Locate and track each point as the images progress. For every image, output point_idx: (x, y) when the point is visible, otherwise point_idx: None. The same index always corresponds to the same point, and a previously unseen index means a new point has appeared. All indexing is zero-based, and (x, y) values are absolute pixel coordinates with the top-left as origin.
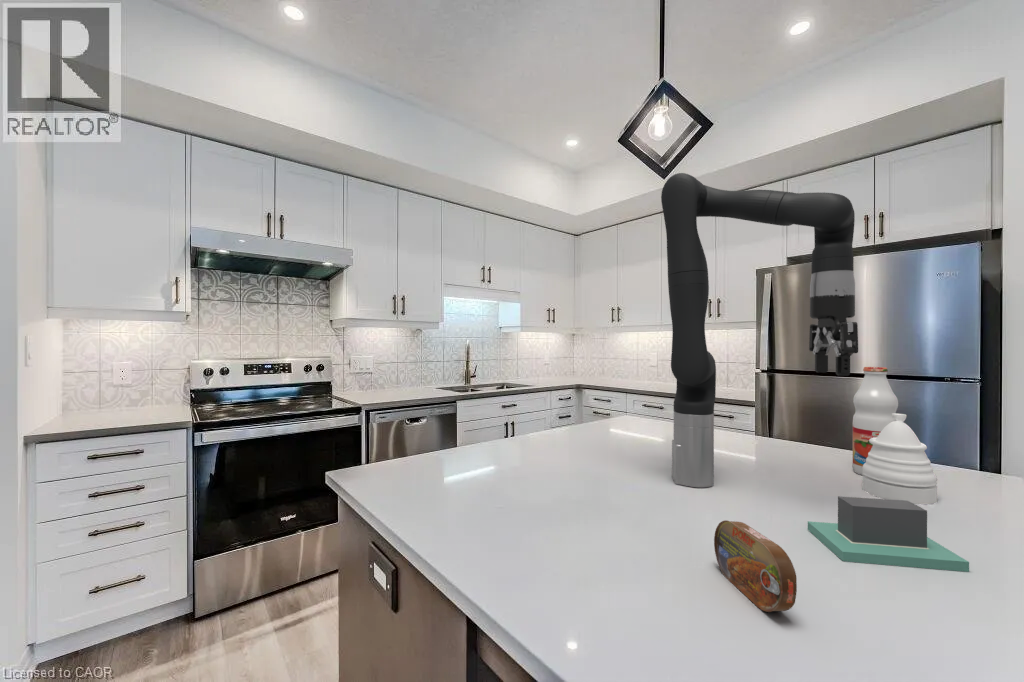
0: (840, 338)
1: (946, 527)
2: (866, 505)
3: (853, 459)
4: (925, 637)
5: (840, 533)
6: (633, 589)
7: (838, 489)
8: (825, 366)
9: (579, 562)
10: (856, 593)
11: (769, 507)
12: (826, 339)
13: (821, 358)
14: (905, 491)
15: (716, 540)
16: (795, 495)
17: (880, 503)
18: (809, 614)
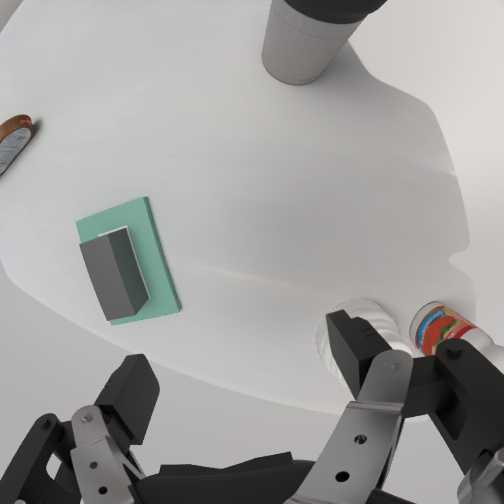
0: (28, 467)
1: (236, 349)
2: (88, 261)
3: (442, 308)
4: (13, 249)
5: (118, 228)
6: (7, 87)
7: (350, 267)
8: (337, 361)
9: (29, 44)
10: (36, 221)
11: (214, 155)
12: (205, 493)
13: (352, 371)
14: (320, 342)
15: (26, 116)
16: (293, 199)
17: (104, 279)
18: (7, 187)
